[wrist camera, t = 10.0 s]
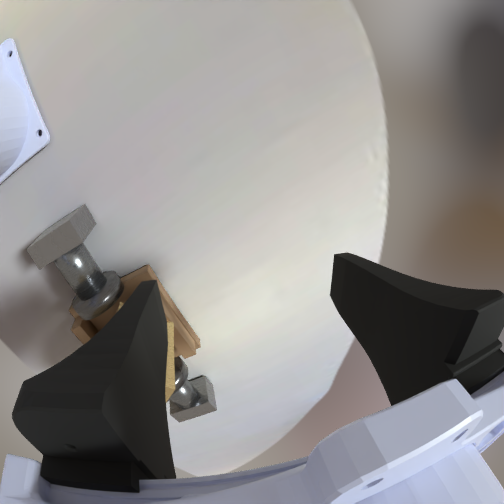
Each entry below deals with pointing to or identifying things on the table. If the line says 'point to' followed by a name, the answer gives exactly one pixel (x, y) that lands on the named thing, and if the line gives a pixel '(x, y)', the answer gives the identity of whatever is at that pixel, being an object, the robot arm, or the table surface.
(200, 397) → the shaft stand
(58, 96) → the table surface
